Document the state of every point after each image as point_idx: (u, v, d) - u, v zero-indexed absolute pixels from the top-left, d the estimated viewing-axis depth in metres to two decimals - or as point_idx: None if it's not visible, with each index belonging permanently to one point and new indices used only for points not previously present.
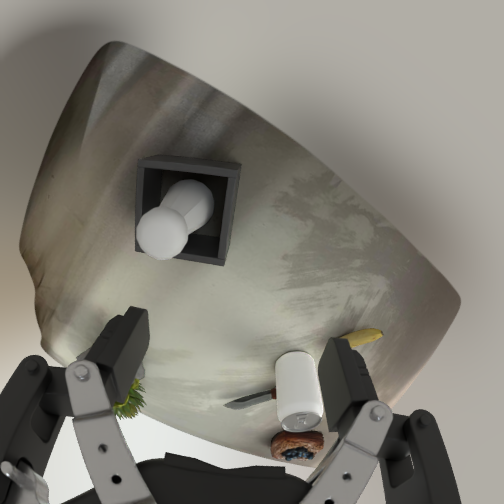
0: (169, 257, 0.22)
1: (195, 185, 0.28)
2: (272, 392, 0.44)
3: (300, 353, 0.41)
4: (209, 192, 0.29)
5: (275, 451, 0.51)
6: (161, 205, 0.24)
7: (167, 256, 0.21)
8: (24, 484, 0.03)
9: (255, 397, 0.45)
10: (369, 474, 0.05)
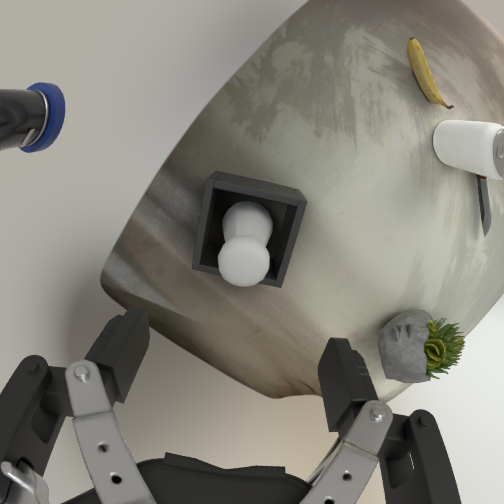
0: (265, 259, 0.22)
1: (225, 218, 0.30)
2: (479, 176, 0.28)
3: (435, 133, 0.27)
4: (235, 204, 0.30)
5: None
6: None
7: (263, 261, 0.22)
8: (23, 484, 0.03)
9: (482, 197, 0.30)
10: (370, 475, 0.05)
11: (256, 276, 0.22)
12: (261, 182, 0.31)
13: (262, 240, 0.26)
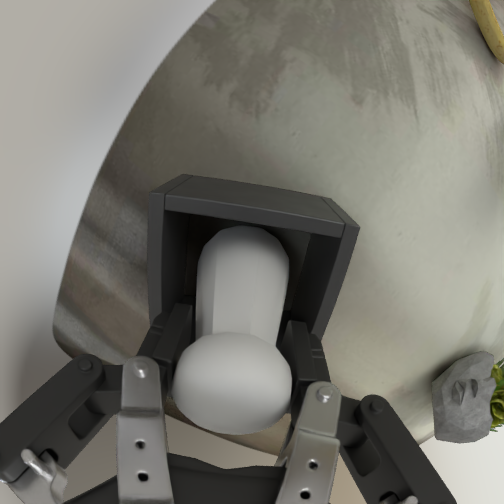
0: (282, 396, 0.08)
1: (201, 262, 0.16)
2: None
3: None
4: (218, 235, 0.16)
5: None
6: None
7: (278, 401, 0.08)
8: (41, 473, 0.04)
9: None
10: (335, 458, 0.05)
11: (262, 425, 0.08)
12: (264, 189, 0.17)
13: (273, 322, 0.11)
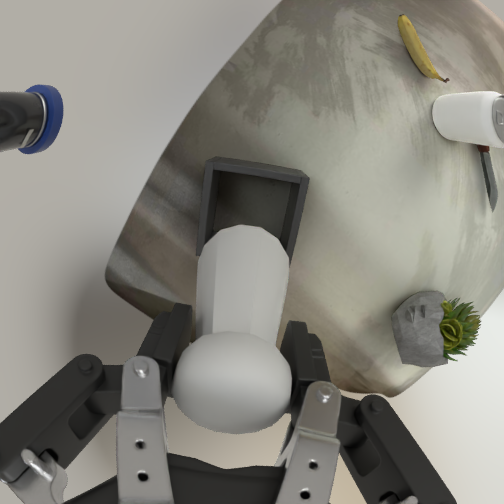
0: (282, 396, 0.08)
1: (201, 261, 0.16)
2: (481, 150, 0.27)
3: (434, 108, 0.26)
4: (218, 235, 0.16)
5: None
6: None
7: (278, 401, 0.08)
8: (41, 473, 0.04)
9: (486, 171, 0.28)
10: (336, 457, 0.05)
11: (262, 425, 0.08)
12: (262, 164, 0.30)
13: (273, 322, 0.11)
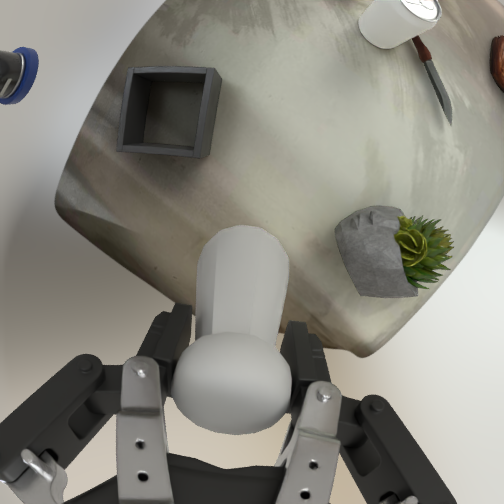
0: (282, 396, 0.08)
1: (201, 261, 0.16)
2: (423, 59, 0.25)
3: (359, 19, 0.24)
4: (218, 235, 0.16)
5: None
6: None
7: (278, 402, 0.08)
8: (41, 473, 0.04)
9: (434, 81, 0.26)
10: (336, 457, 0.05)
11: (262, 425, 0.08)
12: None
13: (273, 322, 0.11)
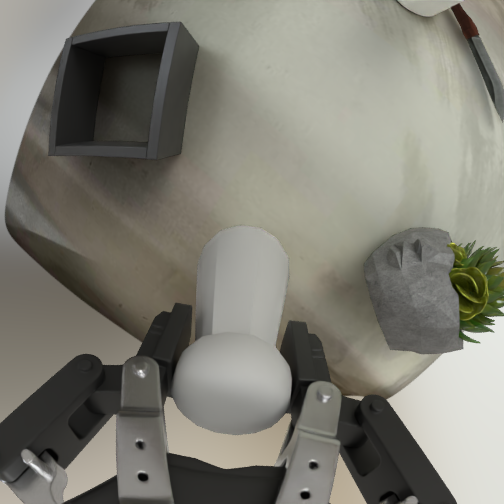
0: (282, 397, 0.08)
1: (201, 262, 0.16)
2: (468, 34, 0.14)
3: None
4: (218, 235, 0.16)
5: None
6: None
7: (278, 402, 0.08)
8: (41, 473, 0.04)
9: (482, 63, 0.15)
10: (336, 457, 0.05)
11: (262, 426, 0.08)
12: None
13: (273, 323, 0.11)
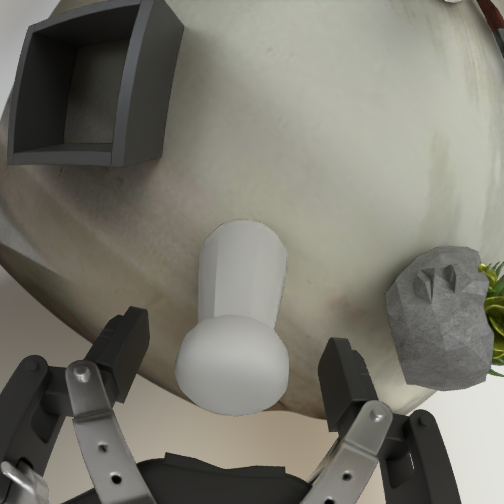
0: (280, 375, 0.09)
1: (203, 254, 0.17)
2: (495, 25, 0.09)
3: None
4: (219, 228, 0.17)
5: None
6: None
7: (276, 380, 0.09)
8: (23, 484, 0.03)
9: None
10: (370, 474, 0.05)
11: (261, 405, 0.09)
12: None
13: (271, 309, 0.12)
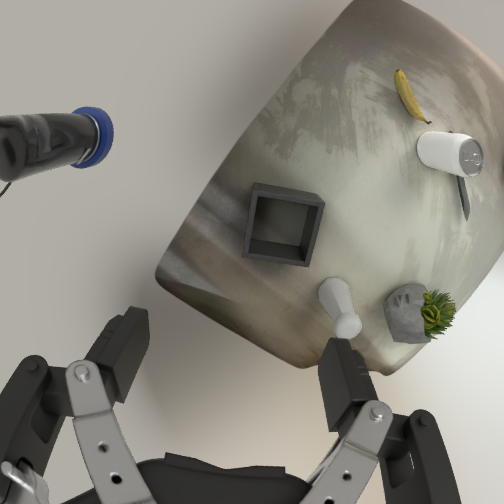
0: (360, 325, 0.37)
1: (323, 291, 0.46)
2: None
3: (418, 143, 0.37)
4: (328, 282, 0.46)
5: None
6: (332, 318, 0.42)
7: (360, 326, 0.37)
8: (23, 484, 0.03)
9: (461, 190, 0.40)
10: (370, 475, 0.05)
11: (355, 334, 0.38)
12: (289, 190, 0.41)
13: (352, 310, 0.41)
